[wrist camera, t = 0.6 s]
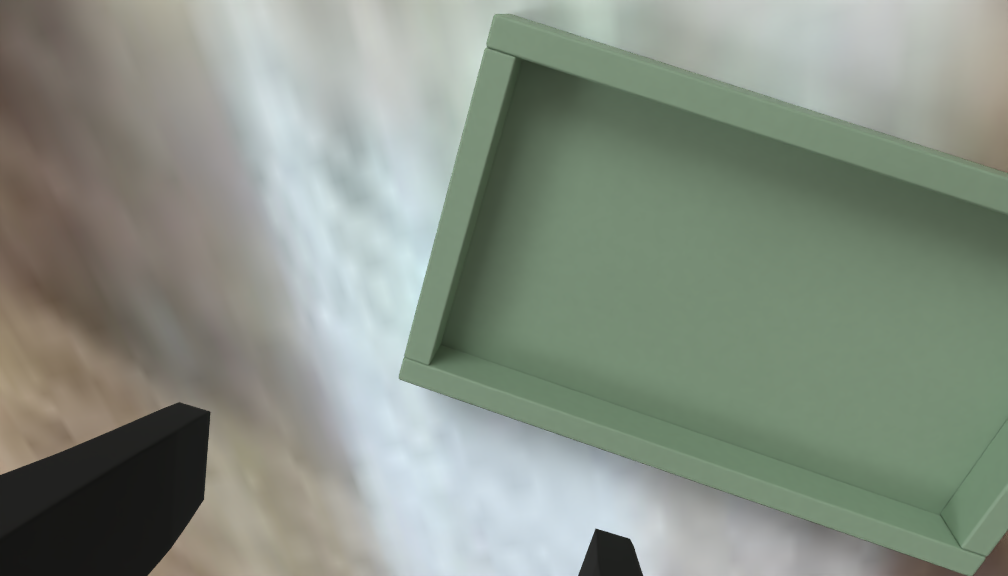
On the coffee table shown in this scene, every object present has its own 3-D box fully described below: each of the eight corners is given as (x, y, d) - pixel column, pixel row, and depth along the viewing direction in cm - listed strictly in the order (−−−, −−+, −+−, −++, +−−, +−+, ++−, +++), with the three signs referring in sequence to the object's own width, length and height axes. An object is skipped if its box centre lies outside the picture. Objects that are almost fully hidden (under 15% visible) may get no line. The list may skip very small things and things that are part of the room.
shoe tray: (943, 530, 22) (972, 578, 20) (416, 349, 22) (397, 379, 21) (1164, 223, 18) (1228, 248, 16) (507, 13, 18) (493, 12, 16)
